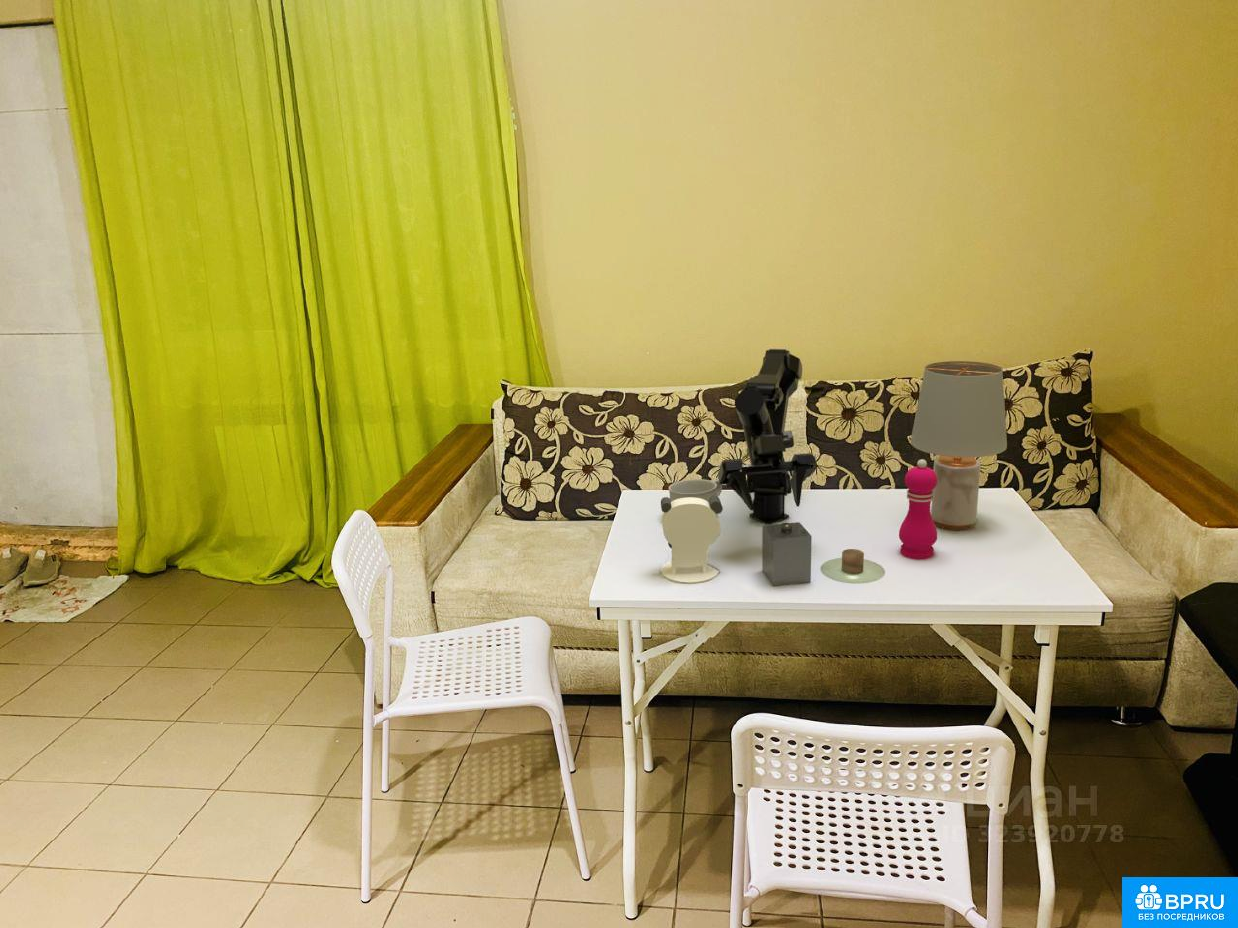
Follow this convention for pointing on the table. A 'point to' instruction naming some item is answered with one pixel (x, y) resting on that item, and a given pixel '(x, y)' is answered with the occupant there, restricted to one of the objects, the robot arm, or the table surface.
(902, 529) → the pepper mill
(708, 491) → the teacup
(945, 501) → the lamp
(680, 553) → the panda figurine
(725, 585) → the table surface
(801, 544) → the cover
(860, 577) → the plate
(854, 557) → the wooden cylinder
